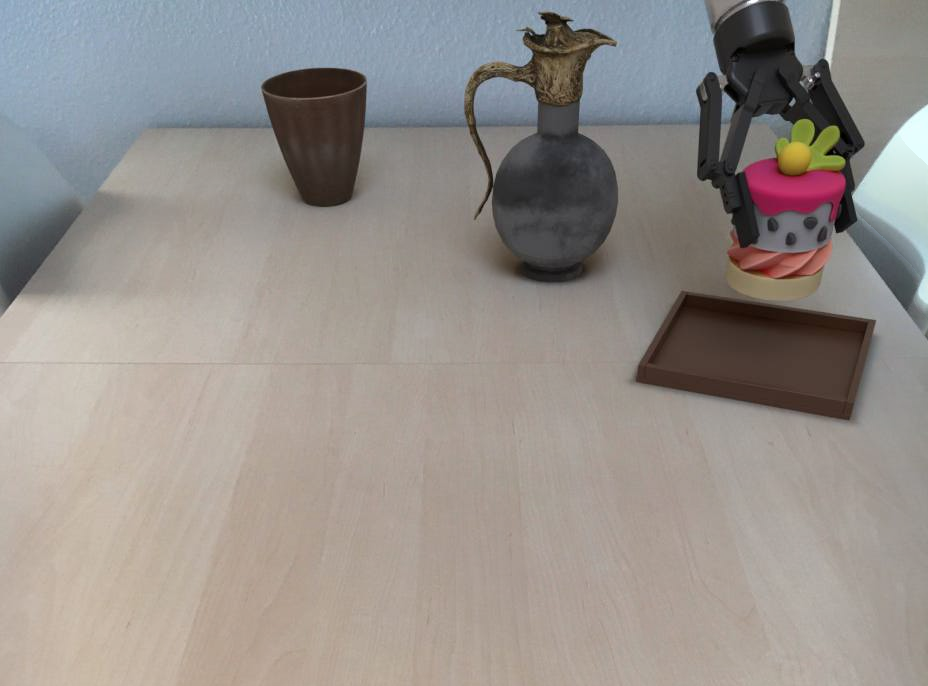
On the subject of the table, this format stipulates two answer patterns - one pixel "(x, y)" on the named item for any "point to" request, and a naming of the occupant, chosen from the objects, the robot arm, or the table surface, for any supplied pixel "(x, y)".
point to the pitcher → (550, 159)
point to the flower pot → (319, 129)
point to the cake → (790, 217)
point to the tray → (760, 354)
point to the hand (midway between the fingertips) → (798, 234)
